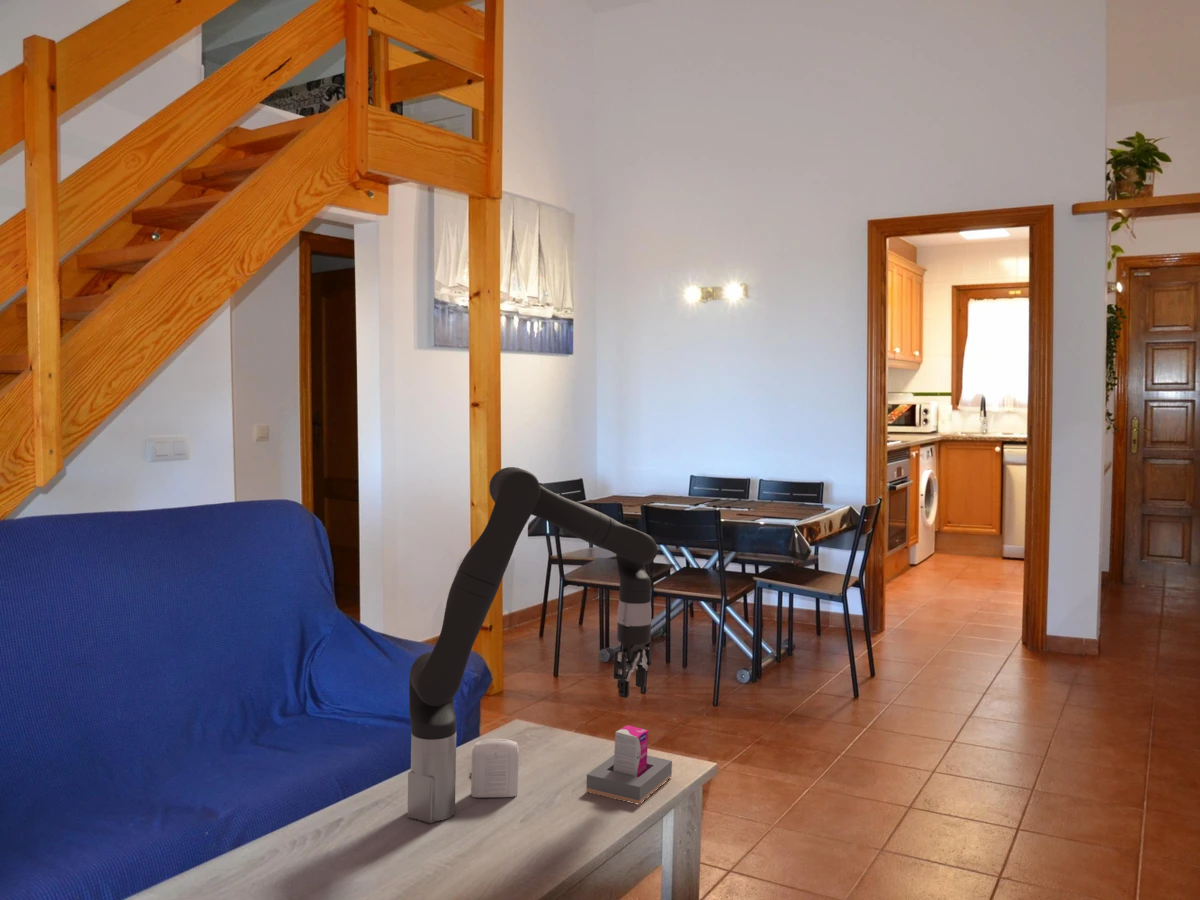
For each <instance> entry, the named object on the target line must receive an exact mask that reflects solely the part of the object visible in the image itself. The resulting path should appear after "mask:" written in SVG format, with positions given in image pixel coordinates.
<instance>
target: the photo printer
mask: <svg viewBox="0 0 1200 900" xmlns="http://www.w3.org/2000/svg"><path fill="white" fill-rule="evenodd" d="M519 763H520V752H519V746H518V742H516V741H514V740H510V739H505V738H488V739H483V740H479V741H477V742H475V743H474V745H473V748H472V752H471V777H470V783H471V784H470V795H471V797H472V798H512V797H513V798H515V797H516V796H518V795H519V771H520V767H519V766H520V764H519ZM514 796H515V797H514Z"/></svg>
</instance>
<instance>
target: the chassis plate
mask: <svg viewBox="0 0 1200 900" xmlns="http://www.w3.org/2000/svg"><path fill="white" fill-rule="evenodd" d="M672 770H673V761H672V760H670V759H665V758H661V757H657V756H653V755H652V756H651V755H648V754H647V769H646V772H645V773H643V774H642V775H641V776H640V777H635V776H630V775H626V774H622V773H618V772H613V771H614V754H613V755H612V756H611V757H609V758H608V759H606V760H605V761H604V762H602V763H601V764H599V765H598V766H596V767H595V768H593V770H591V771H590V772H588V773H587V774H586V787H585V788H586V790H585V791H586V793H588V792H591V793H590V794H592V793H594V794H593V795H596V794H597V795H598V796H600V795H602V796H601V797H604V796H607V797H606V798H608V797H611V798H610V799H612V798H616V799H620V800H625V801H630V802H633V803H638V804H640V803H641V802H642V801H643V800H645V799H646V798H647V797H648V796H649V795H650V794H651V793H652V792H654V791H655V790H656V789H657V788H658V787H660V785H662V784H663V783H664V782H665V781H667V780H668V779H669V778H670V777H672V772H673V771H672ZM668 781H669V780H668ZM668 781H667V782H668ZM660 788H661V787H660ZM654 793H655V792H654ZM648 798H649V797H648ZM648 798H647V799H648ZM616 799H615V800H616ZM647 799H646V800H647ZM620 800H619V801H620ZM646 800H645V801H646ZM641 804H642V803H641ZM641 804H640V805H641Z"/></svg>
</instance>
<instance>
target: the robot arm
mask: <svg viewBox="0 0 1200 900" xmlns="http://www.w3.org/2000/svg"><path fill="white" fill-rule="evenodd" d="M488 488H489V489H488V490H489V494H490V498H491V499H492V501H493V502H494V505H493V508H492V510H491V511H492V512H491V514H490V516H489V520H488V521H487V524H486V525H485V528H484V530H483V532H482V533H481V534H480V536H479V537H477V540H476V541H475V542H474V543H473V545H472V546H471V547H470V548H469V550H468V552H467V553H466V554H465V556H464V557H463V559H462V560H461V563H460V565H459V566H458V569H457V571H456V574H455V576H454V578H453V581H452V584H451V586H450V589H449V591H448V595H447V597H446V598H447V599H446V603H445V609H444V614H443V621H442V625H441V630H440V634H439V637H438V639H437V641H436V643H435V645H434V647H433V649H432V651H429V652H425V653H423V654H421V655H420V656H418V657H417V658H416V659H415V660H414V662H413V663H412V665H411V667H410V671H409V679H408V681H409V683H408V685H409V687H408V689H409V690H408V691H409V693H408V695H409V697H408V698H409V699H408V700H409V701H408V702H409V703H408V704H409V706H408V707H409V719H410V725H411V726H410V731H411V734H410V737H411V738H410V739H411V741H410V771H409V772H408V773H407V818H409V817H410V818H409V819H413V818H414V819H413V820H416V819H418V820H417V821H420V820H422V821H421V822H423V821H425V822H424V823H427V822H428V823H427V824H430V823H431V824H434V823H435V822H434V821H436V822H440V820H441V821H444V819H445V820H447V819H450V818H451V817H452V815H453V816H454V814H455V813H456V788H457V787H456V786H457V785H456V782H457V781H456V780H457V779H456V778H457V777H456V776H457V771H456V769H457V717H456V712H455V706H454V705H455V704H454V697H455V696H456V694H457V693H458V691H459V689H460V687H461V683H462V680H463V677H464V674H465V671H466V667H467V664H468V662H469V661H468V660H469V658H470V655H471V651H472V648H473V646H474V643H475V641H476V639H477V637H478V635H479V633H480V631H481V629H482V627H483V624H484V621H485V620H486V618H487V615H488V613H489V610H490V608H491V606H492V604H493V601H494V600H495V598H496V595H497V592H498V590H499V588H500V585H501V583H502V580H503V578H504V574H505V572H506V570H507V567H508V565H509V563H510V561H511V558H512V555H513V553H514V549H515V547H516V545H517V543H518V540H519V538H520V536H521V534H522V532H523V531H524V528H525V526H526V524H527V523H528V521H529V520H530V517H531V516H534V517H537V518H539V519H542V520H544V521H546V522H548V523H550V524H552V525H554V526H556V527H558V528H560V529H561V530H563V531H565V532H567V533H569V534H570V535H572V536H574V537H576V538H578V539H580V540H583V541H584V542H586V543H589V544H591V545H593V546H595V547H597V548H600V549H603V550H607V551H609V552H612V553H613V554H615V556H616V563H617V564H616V566H617V571H618V576H619V594H618V595H619V597H618V600H619V601H618V606H617V621H616V622H617V627H616V631H617V632H616V639H617V641H618V642H619V643H621V644H622V648H621V651H615V652H614V661H613V662H614V666H613V679H614V680H618V696H619V697H620V698H624V699H627V698H629V697H630V678H631V675H632V673H634V672H635V686H636V687H638V688H642V689H643V688H645V687H646V685H647V683H646V681H647V680H646V679H647V671H648V668H649V667H650V666H651V665H652V640H651V637H652V581H651V577H650V576H649V575H648V573H647V572H646V571H647V570H646V565H648V564H651V563H652V562H653V561H654V560H655V558H656V557H657V554H658V546H657V542H656V541H655V540H654V538H653V537H652V536H651V535H649V534H647V533H645V532H642V531H641V530H637V529H636V528H633V527H631V526H628V525H625V524H623V523H621V522H619V521H617V520H616V519H614V518H612V517H610V516H608V515H607V514H605V513H603V512H600V511H598V510H596V509H594V508H592V507H589V506H587V505H584V504H582V503H579V502H577V501H574V500H572V499H569V498H566V497H564V496H562V495H560V494H557V493H555V492H553V491H552V490H550V489H547V488H546V487H544V486H543V485H541V484H540V481H539V480H538V478H537V476H536V475H534V473H532V472H530V471H528V470H526V469H523V468H519V467H514V466H510V467H509V466H508V467H503V468H501V469H499V470H498V471H496V472H495V473H494V474H493V475H492V477H491V478H490V481H489V486H488ZM635 669H636V670H635Z"/></svg>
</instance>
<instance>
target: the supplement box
mask: <svg viewBox="0 0 1200 900" xmlns="http://www.w3.org/2000/svg"><path fill="white" fill-rule="evenodd" d="M614 733H615V735H614V736H615V737H614V750H613V751H614V753H613V755H614V771H613V772H618V773H622V774H626V775H630V776H635V777H640V776H641V775H642V774H643V773H645V772H646V769H647V755H648V747H649V746H648V745H649V730H648V729H645V728H641V727H635V726H633V725H628V724H627V725H625V726H623V727H621V728H620V729H618V730H617V731H615V732H614Z"/></svg>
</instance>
